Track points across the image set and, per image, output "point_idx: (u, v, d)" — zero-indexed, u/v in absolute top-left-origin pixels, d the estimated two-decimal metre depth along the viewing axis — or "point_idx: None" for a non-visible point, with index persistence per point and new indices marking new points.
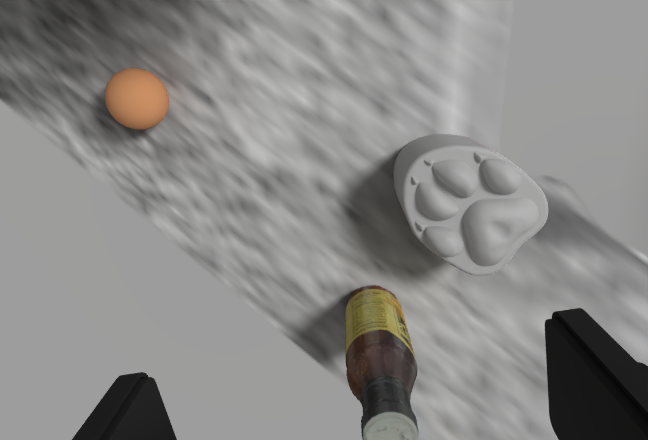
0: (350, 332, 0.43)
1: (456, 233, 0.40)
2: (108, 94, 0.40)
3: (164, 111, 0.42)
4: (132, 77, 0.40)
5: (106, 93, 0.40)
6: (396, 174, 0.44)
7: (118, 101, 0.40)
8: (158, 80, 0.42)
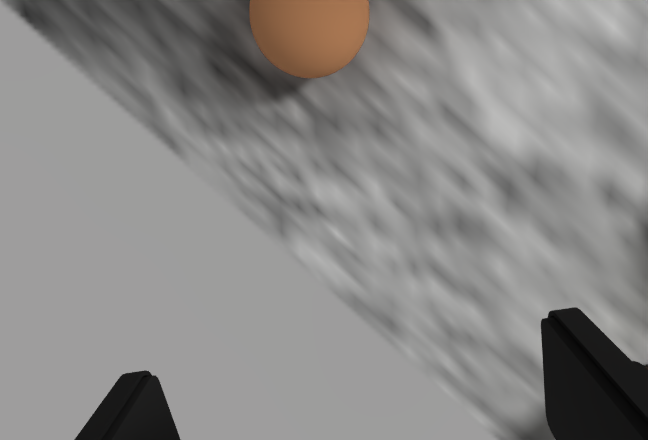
0: None
1: None
2: None
3: (363, 39, 0.21)
4: None
5: None
6: None
7: (291, 9, 0.18)
8: None
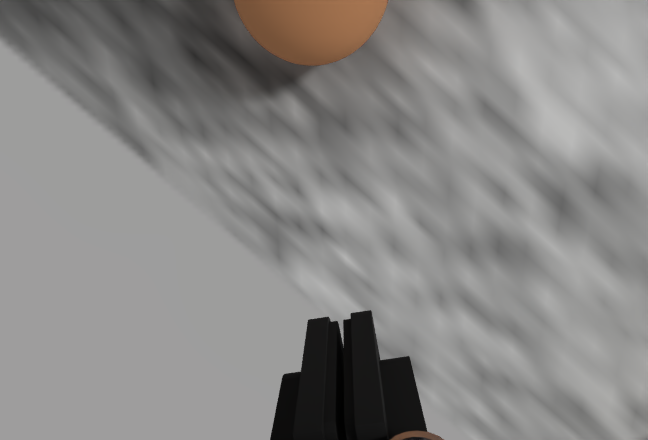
0: None
1: None
2: None
3: (383, 13, 0.16)
4: None
5: None
6: None
7: None
8: None
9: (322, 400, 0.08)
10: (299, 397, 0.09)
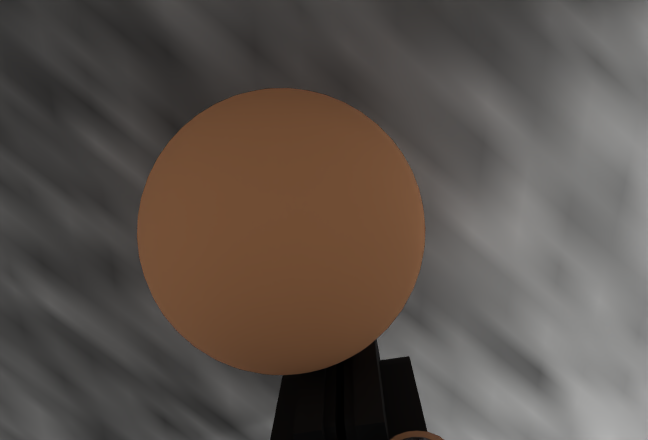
0: None
1: None
2: None
3: (399, 216, 0.07)
4: None
5: None
6: None
7: None
8: None
9: (323, 400, 0.08)
10: (299, 397, 0.09)
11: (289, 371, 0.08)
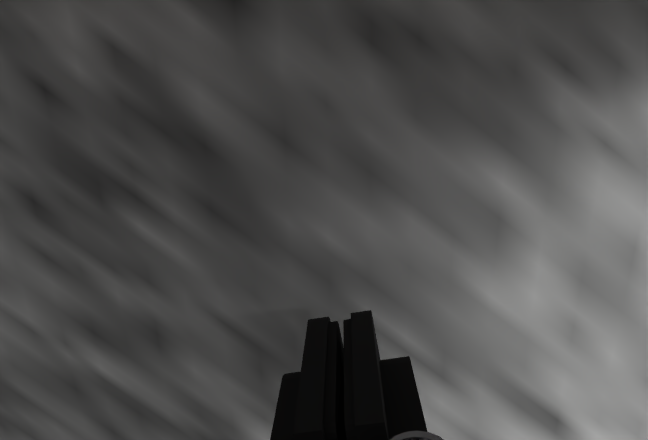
0: None
1: None
2: None
3: None
4: None
5: None
6: None
7: None
8: None
9: (322, 400, 0.08)
10: (299, 397, 0.09)
11: None
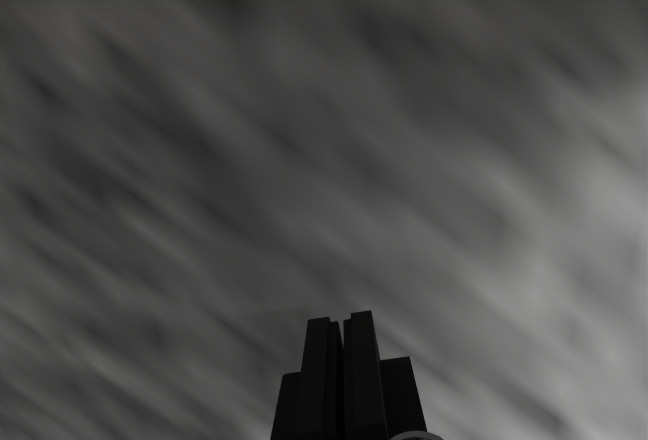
0: None
1: None
2: None
3: None
4: None
5: None
6: None
7: None
8: None
9: (322, 400, 0.08)
10: (299, 397, 0.09)
11: None
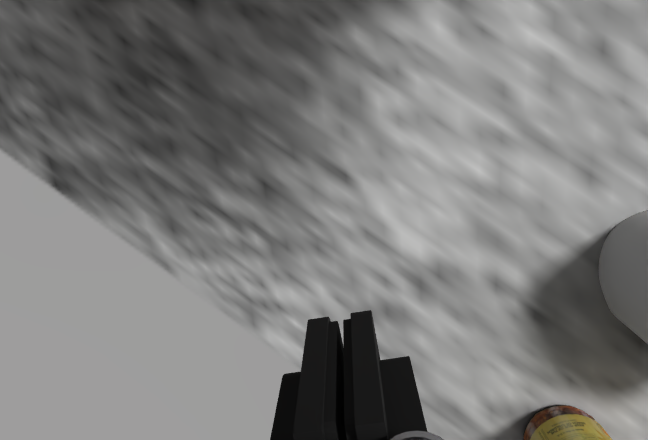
0: None
1: None
2: None
3: None
4: None
5: None
6: (619, 268, 0.31)
7: None
8: None
9: (323, 400, 0.08)
10: (299, 397, 0.09)
11: None
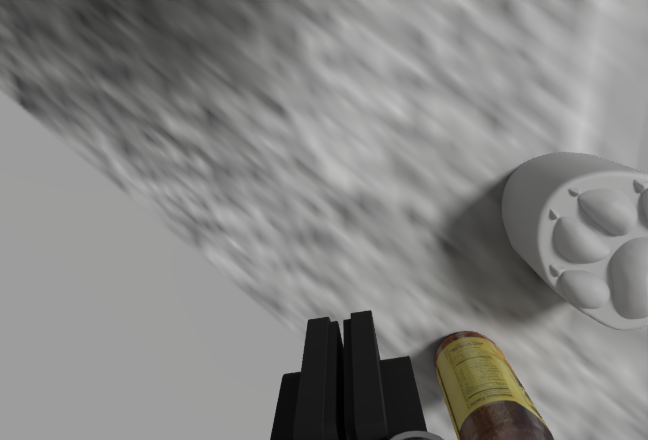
0: (460, 398, 0.35)
1: (602, 279, 0.32)
2: None
3: None
4: None
5: None
6: (513, 202, 0.36)
7: None
8: None
9: (323, 400, 0.08)
10: (299, 397, 0.09)
11: None
